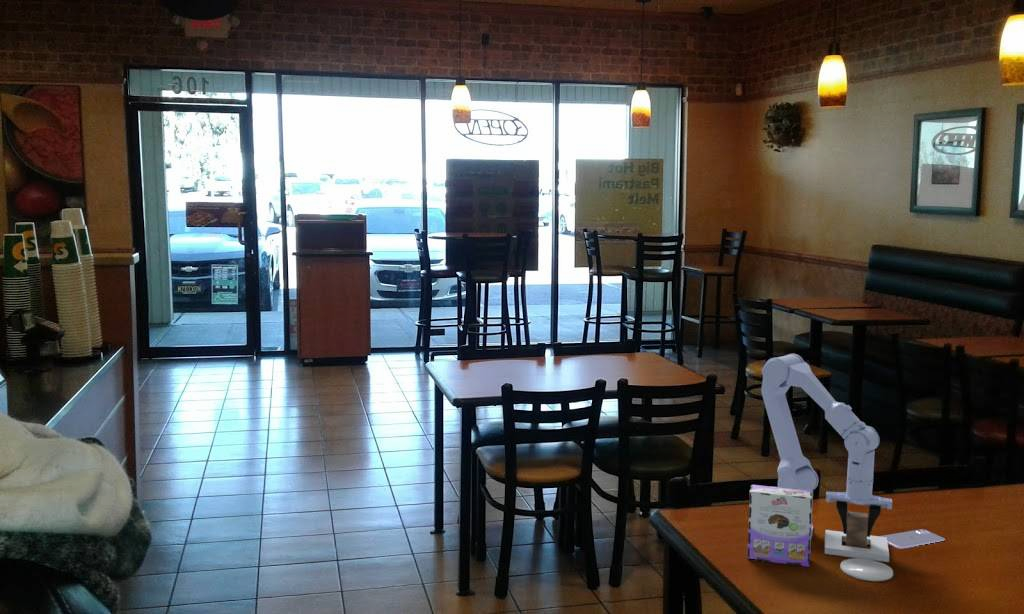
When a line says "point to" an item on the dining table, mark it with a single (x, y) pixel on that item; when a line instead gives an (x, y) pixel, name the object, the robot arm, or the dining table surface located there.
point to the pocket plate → (875, 552)
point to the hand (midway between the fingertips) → (856, 533)
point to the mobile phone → (912, 538)
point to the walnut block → (857, 529)
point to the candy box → (780, 525)
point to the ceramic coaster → (866, 569)
